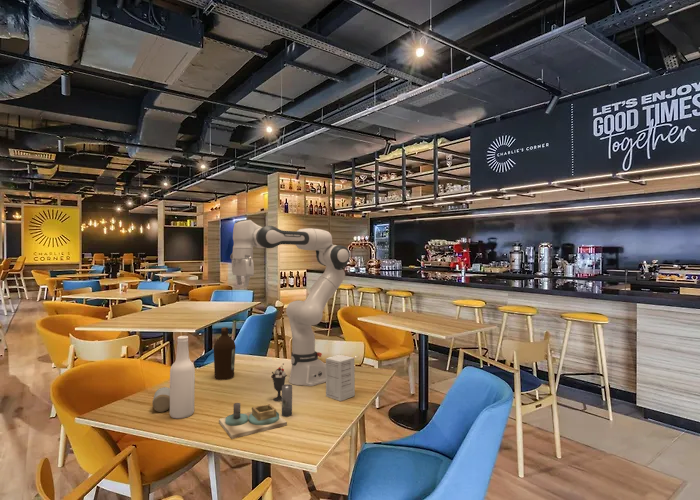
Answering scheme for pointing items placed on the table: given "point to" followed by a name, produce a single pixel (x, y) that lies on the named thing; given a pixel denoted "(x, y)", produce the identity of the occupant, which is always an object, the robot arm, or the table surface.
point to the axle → (286, 400)
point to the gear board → (251, 421)
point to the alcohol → (182, 382)
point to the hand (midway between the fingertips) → (242, 285)
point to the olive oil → (224, 356)
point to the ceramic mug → (162, 399)
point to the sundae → (279, 382)
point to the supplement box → (340, 377)
